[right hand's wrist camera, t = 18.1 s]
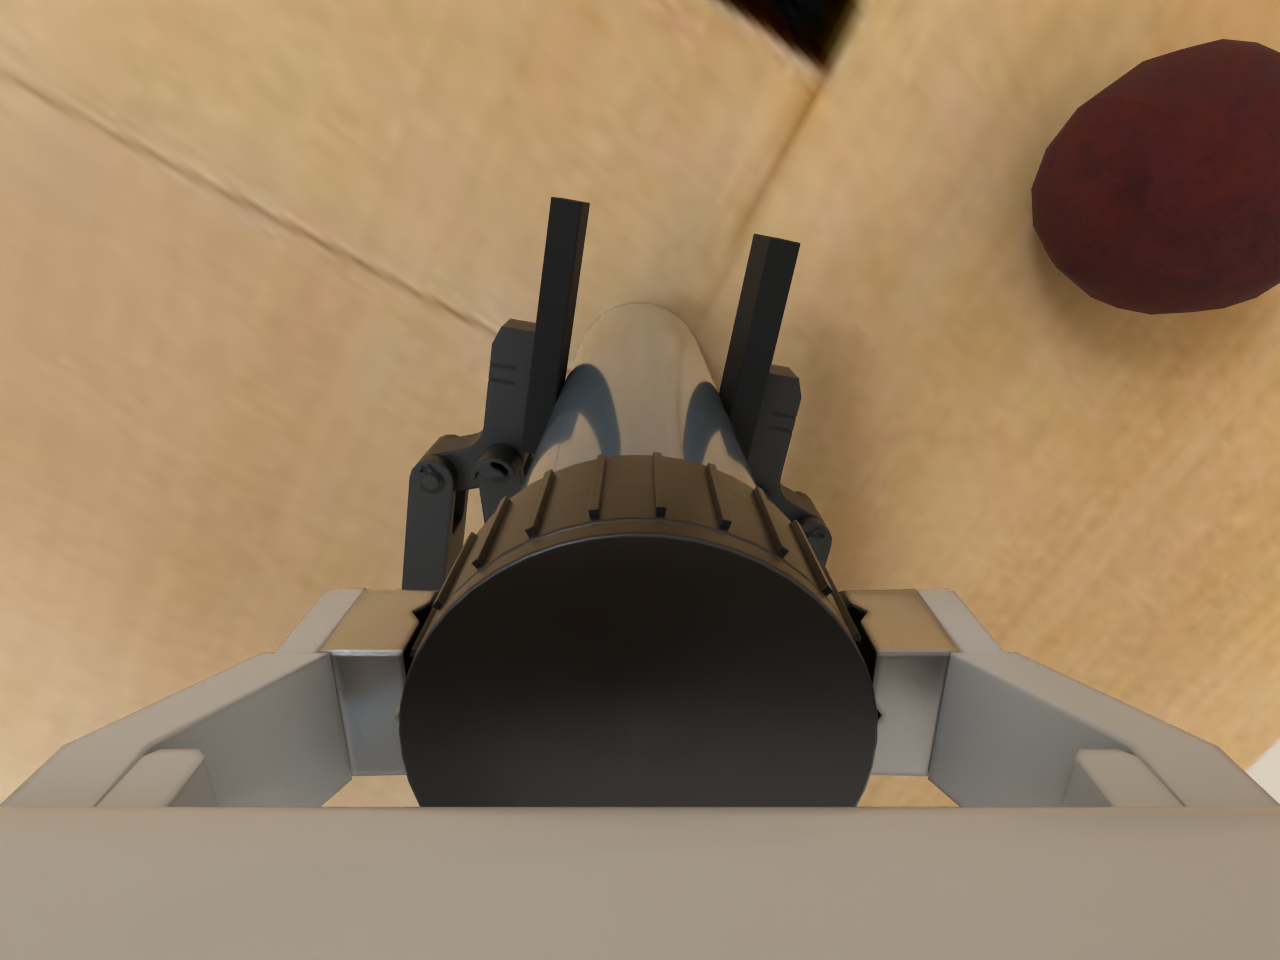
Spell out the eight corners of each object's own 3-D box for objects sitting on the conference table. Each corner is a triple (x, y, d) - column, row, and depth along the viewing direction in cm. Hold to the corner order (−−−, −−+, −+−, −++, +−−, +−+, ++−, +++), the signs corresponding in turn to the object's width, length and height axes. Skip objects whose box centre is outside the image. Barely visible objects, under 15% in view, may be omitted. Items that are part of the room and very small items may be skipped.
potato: (1193, 298, 26) (1382, 330, 19) (976, 299, 26) (1091, 331, 19) (1253, 64, 23) (1497, 7, 17) (1012, 65, 23) (1160, 10, 17)
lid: (840, 440, 9) (905, 516, 7) (821, 773, 11) (866, 918, 9) (420, 457, 9) (348, 538, 7) (472, 785, 11) (429, 931, 9)
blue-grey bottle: (708, 416, 28) (845, 840, 9) (589, 434, 28) (491, 880, 9) (693, 293, 26) (821, 511, 8) (566, 313, 26) (395, 572, 8)
